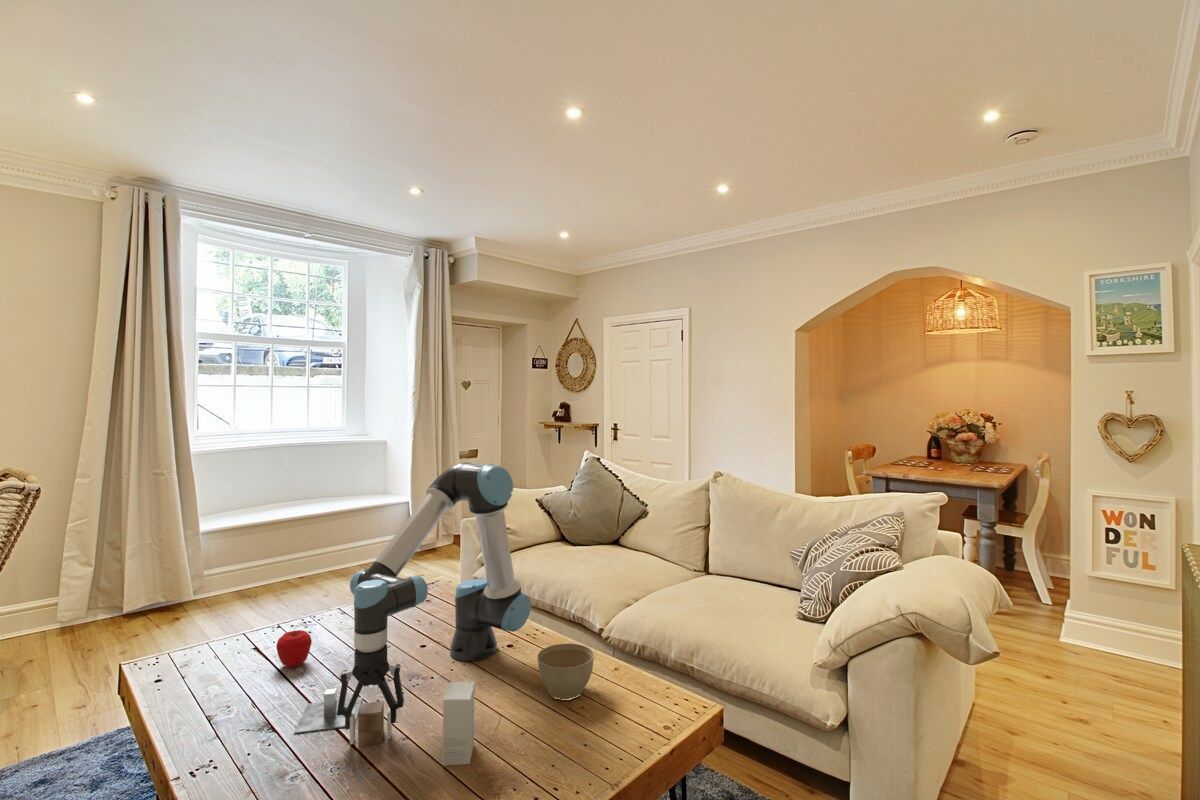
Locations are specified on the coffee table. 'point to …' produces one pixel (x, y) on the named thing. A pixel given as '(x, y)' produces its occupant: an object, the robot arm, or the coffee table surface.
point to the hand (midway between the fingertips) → (371, 738)
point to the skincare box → (458, 723)
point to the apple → (294, 648)
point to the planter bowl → (565, 669)
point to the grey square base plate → (325, 714)
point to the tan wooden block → (370, 723)
